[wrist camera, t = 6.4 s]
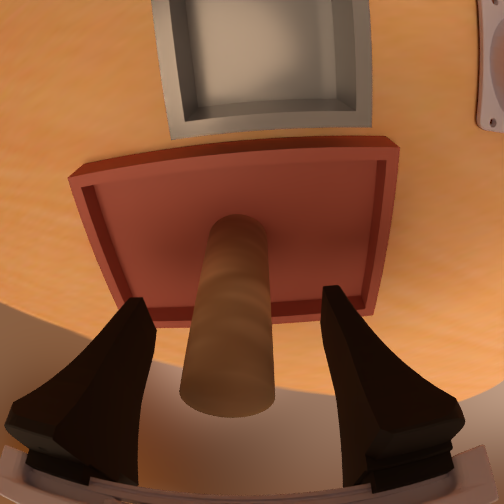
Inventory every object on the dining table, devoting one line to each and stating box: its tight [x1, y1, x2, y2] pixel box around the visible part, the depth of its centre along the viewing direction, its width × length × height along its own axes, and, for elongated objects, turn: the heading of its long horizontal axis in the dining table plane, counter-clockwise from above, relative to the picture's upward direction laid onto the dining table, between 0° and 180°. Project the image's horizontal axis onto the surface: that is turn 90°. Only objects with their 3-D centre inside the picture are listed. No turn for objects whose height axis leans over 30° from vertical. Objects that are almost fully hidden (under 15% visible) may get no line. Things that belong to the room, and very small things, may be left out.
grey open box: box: [151, 0, 372, 140], centre depth 10 cm, size 7×7×4 cm
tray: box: [68, 136, 400, 328], centre depth 17 cm, size 15×10×2 cm
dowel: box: [179, 214, 275, 418], centre depth 13 cm, size 3×3×9 cm
